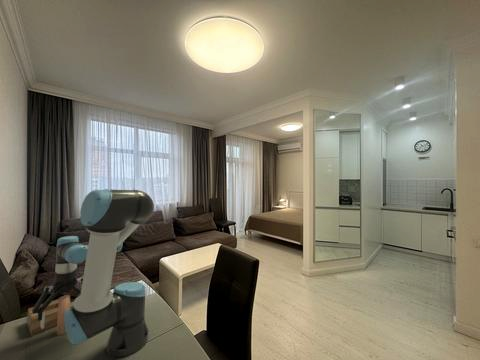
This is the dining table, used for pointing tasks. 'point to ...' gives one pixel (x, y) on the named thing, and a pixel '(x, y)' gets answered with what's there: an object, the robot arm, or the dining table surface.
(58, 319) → the peg
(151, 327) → the dining table surface
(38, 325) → the socket block
